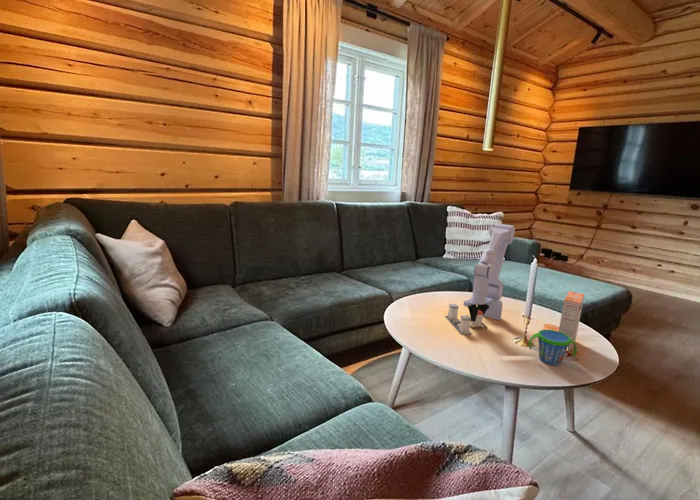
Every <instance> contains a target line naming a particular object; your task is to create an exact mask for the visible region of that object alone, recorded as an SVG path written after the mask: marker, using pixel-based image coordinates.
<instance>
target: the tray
mask: <svg viewBox="0 0 700 500" xmlns="http://www.w3.org/2000/svg"><path fill="white" fill-rule="evenodd" d="M471 322H472V320H471ZM471 322H470V323H471ZM470 329H471V330H488V326H487V325H486V324H485V323H483V321H482V325H481V326H480V327H475V326H473V325H472V324H470Z"/></svg>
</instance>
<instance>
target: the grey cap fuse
mask: <svg viewBox="0 0 700 500" xmlns="http://www.w3.org/2000/svg"><path fill="white" fill-rule="evenodd" d="M458 314H459V305H458V304H457V303H449V304H448V312H447V316H448V318H449V319H450V320H451V318H457V319H458Z"/></svg>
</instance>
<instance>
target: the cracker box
mask: <svg viewBox="0 0 700 500" xmlns="http://www.w3.org/2000/svg"><path fill="white" fill-rule="evenodd" d="M584 299H585V294H584V293H579V292H576V291H572V290H571V291H570V290H569V291H568V293H567V294H566V296H565V298H564V300H563V305H562V310H561V316H560V323H559V327H558V328H559V329H558V332H561V333H564V334H566V335H567V336H569V337H570V339H572V340H573V341H574V342H575V343H576V339H577V334H578V329H579V324H580V320H581V315H582V309H583V304H584ZM573 349H574V344H573V343H572V342H571V343H570V344H569V346H568V352H567V353H569V354H572V353H573Z"/></svg>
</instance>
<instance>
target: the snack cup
mask: <svg viewBox="0 0 700 500" xmlns="http://www.w3.org/2000/svg"><path fill="white" fill-rule="evenodd" d="M536 338H537V339H538V358H539V359H540V361H542V362H543V363H545V364H548V365H554V366H559V365H560V364H562V362H563V361H564V357H565V355H566V350H567V347H568V346H569V344H570V343H571V342H572V343H573V344H574V346H573V349H572V352H571V355H572V357H576V355H577V349H578V348H577V344H576V341H575V342H574V341H573V340H572V339H570V337H569V336H567V335H566V334H564V333H561V332H559V330H554V329H540V330H539V331H538V332H537V333H534V334H533V335H532V336H531V337H530V338H529V341H528V347H529V350H532V341H533V340H534V339H536Z"/></svg>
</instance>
